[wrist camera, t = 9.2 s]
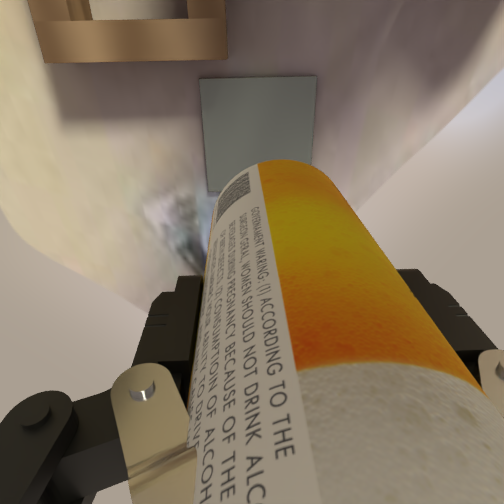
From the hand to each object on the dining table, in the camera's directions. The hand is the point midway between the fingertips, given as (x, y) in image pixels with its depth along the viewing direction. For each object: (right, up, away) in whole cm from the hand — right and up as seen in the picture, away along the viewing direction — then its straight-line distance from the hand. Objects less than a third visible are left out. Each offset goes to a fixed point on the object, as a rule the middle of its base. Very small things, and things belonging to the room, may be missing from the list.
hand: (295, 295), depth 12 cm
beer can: (0, +3, +5) cm, 6 cm away
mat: (-1, +12, +21) cm, 24 cm away
